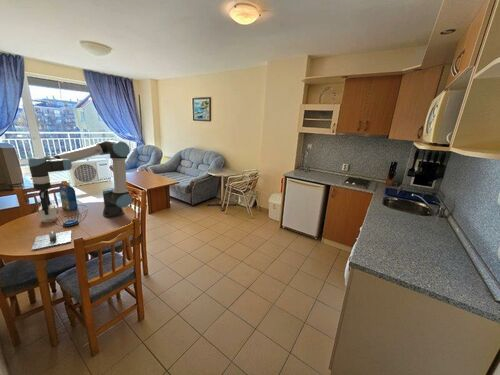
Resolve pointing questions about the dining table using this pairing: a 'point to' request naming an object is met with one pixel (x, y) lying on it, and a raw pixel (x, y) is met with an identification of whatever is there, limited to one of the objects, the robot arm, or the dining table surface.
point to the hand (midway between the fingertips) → (48, 216)
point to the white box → (52, 212)
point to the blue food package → (68, 196)
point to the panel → (52, 240)
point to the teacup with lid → (50, 219)
